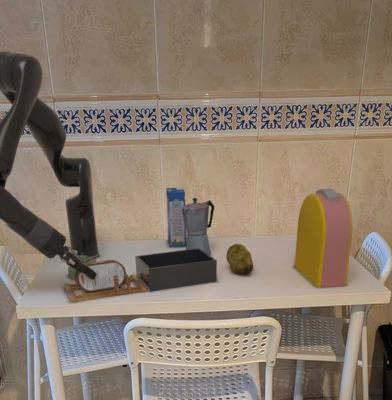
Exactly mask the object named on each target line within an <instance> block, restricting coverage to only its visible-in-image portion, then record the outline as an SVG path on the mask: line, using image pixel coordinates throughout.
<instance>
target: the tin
mask: <svg viewBox="0 0 392 400" xmlns="http://www.w3.org/2000/svg"><path fill="white" fill-rule="evenodd" d="M84 264H86V265H87V266H88V267H89V268H90V269H92V270H93V271H94V272H96V274H97V275H96V277H95V278H94V279H91V278H89V277H88V276H86V275H85V274H84V273H79V272H78V271H77V270H76V272H75V279H74V282H75V284H77V286H78V287H79V288H80V289H79V290H81V291H84V292H88V293H95V292H101V291H108V290H115V286H114V276H116V278H118V285H119V288H120V287H121V286H123V285H124V281H125V279H126V276H125V275H126V274H127V271H126V267H125V266H124V264H122V263H121V262H119V261H117V260H115V259H105V260H98V261H97V260H96V262H89V263H84ZM81 266H82V265H80V266H79V267H78V268H80V267H81Z"/></svg>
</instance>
